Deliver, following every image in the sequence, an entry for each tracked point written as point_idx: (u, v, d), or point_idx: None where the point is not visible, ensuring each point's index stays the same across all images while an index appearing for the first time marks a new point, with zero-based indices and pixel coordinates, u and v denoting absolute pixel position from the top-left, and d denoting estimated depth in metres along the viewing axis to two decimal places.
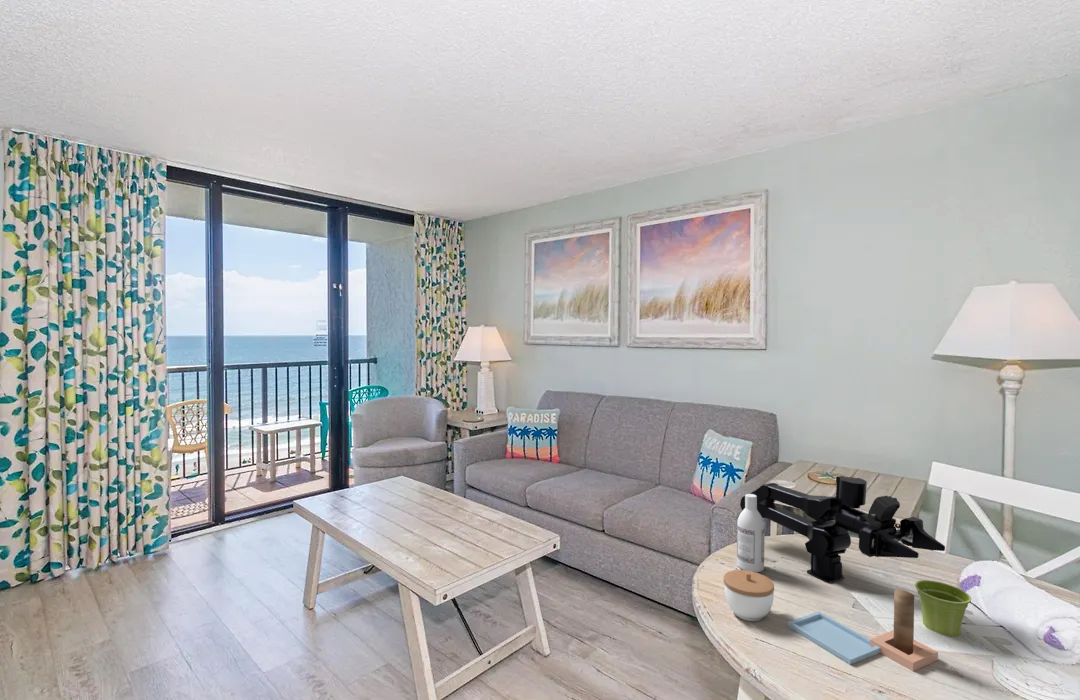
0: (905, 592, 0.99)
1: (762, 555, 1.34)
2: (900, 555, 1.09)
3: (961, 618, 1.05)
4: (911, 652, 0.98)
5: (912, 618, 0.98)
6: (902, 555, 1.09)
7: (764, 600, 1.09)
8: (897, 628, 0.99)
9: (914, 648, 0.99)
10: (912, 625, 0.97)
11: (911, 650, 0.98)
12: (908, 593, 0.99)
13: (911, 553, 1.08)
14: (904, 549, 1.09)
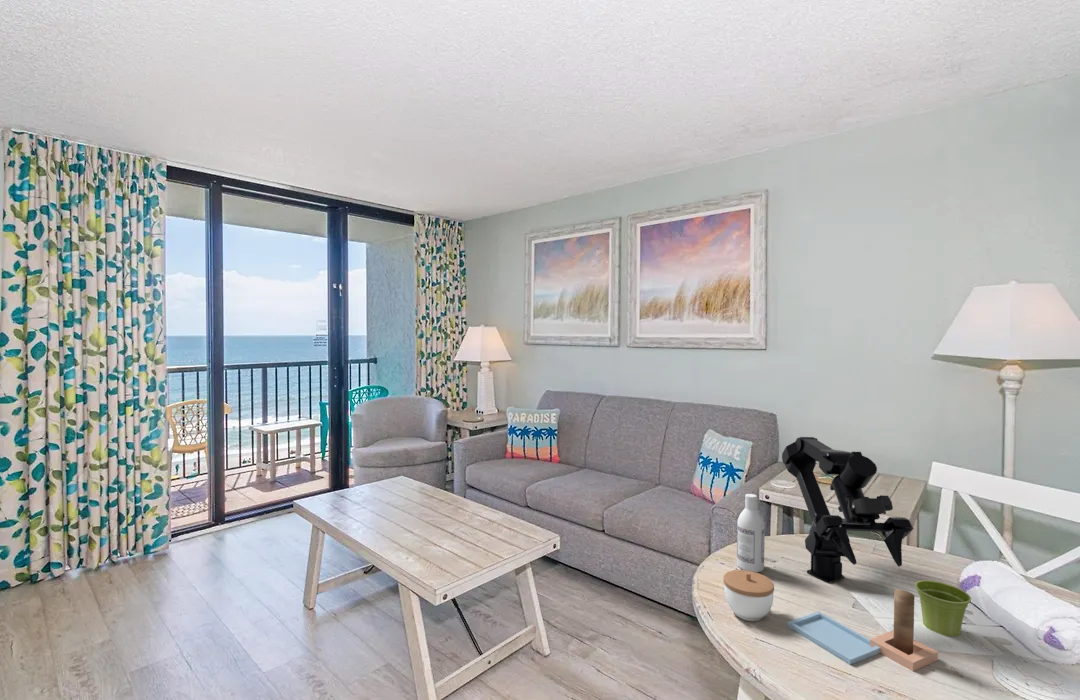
0: (905, 592, 0.99)
1: (762, 555, 1.34)
2: (843, 552, 1.12)
3: (961, 618, 1.05)
4: (911, 652, 0.98)
5: (912, 618, 0.98)
6: (844, 554, 1.11)
7: (764, 600, 1.09)
8: (897, 628, 0.99)
9: (914, 648, 0.99)
10: (912, 625, 0.97)
11: (911, 650, 0.98)
12: (908, 593, 0.99)
13: (851, 559, 1.09)
14: (848, 552, 1.10)
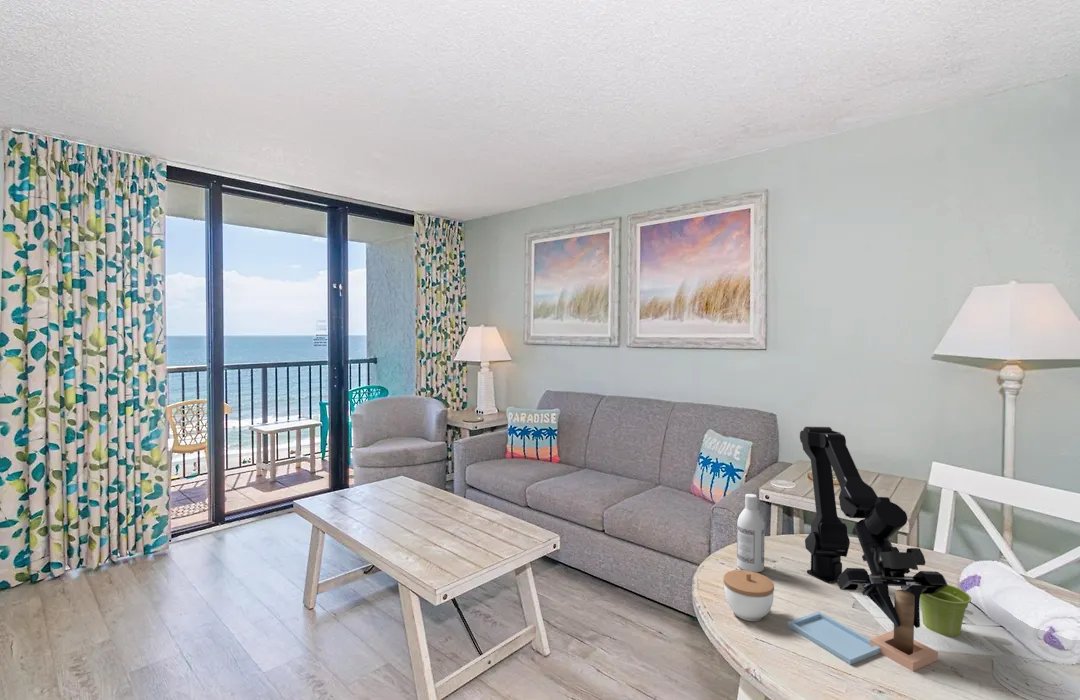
0: (905, 592, 0.99)
1: (762, 555, 1.34)
2: (884, 611, 1.01)
3: (961, 618, 1.05)
4: (911, 652, 0.98)
5: (912, 618, 0.97)
6: (886, 613, 1.00)
7: (764, 600, 1.09)
8: (897, 628, 0.99)
9: (914, 648, 0.99)
10: (912, 625, 0.97)
11: (911, 650, 0.98)
12: (908, 593, 0.99)
13: (893, 620, 0.98)
14: (890, 612, 0.99)
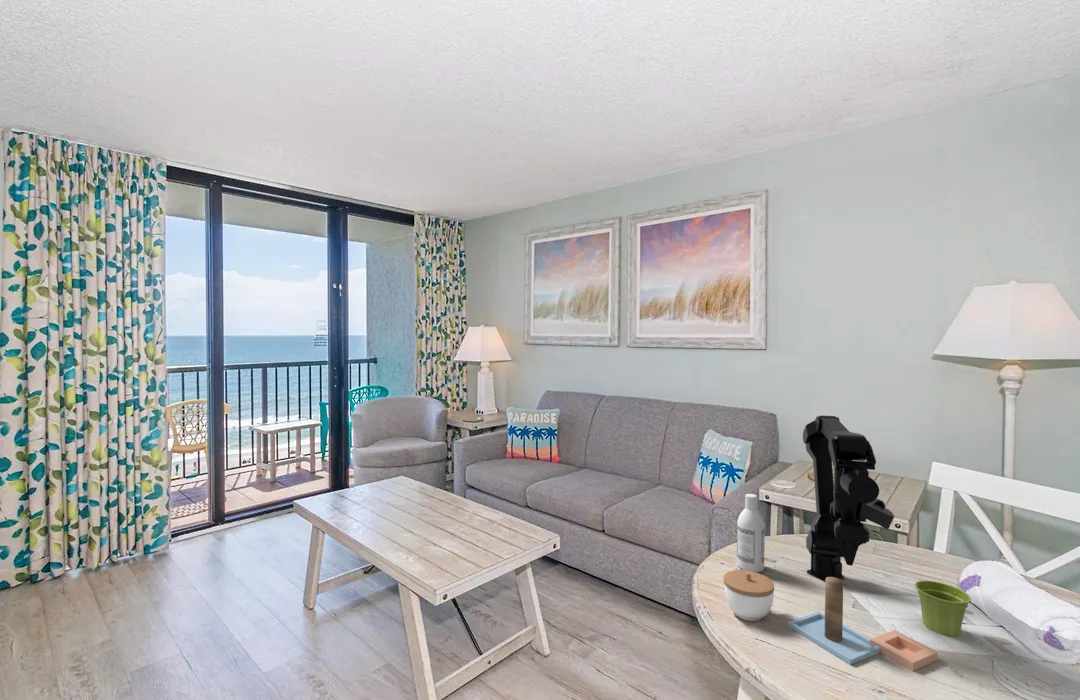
0: (837, 579, 1.04)
1: (762, 555, 1.34)
2: (844, 552, 1.10)
3: (961, 618, 1.05)
4: (837, 636, 1.02)
5: (838, 604, 1.02)
6: (844, 554, 1.10)
7: (764, 600, 1.09)
8: (825, 612, 1.04)
9: (914, 648, 0.99)
10: (838, 610, 1.02)
11: (837, 634, 1.02)
12: (839, 581, 1.04)
13: (850, 561, 1.10)
14: (852, 556, 1.09)
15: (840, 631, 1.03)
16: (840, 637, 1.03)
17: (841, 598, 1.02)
